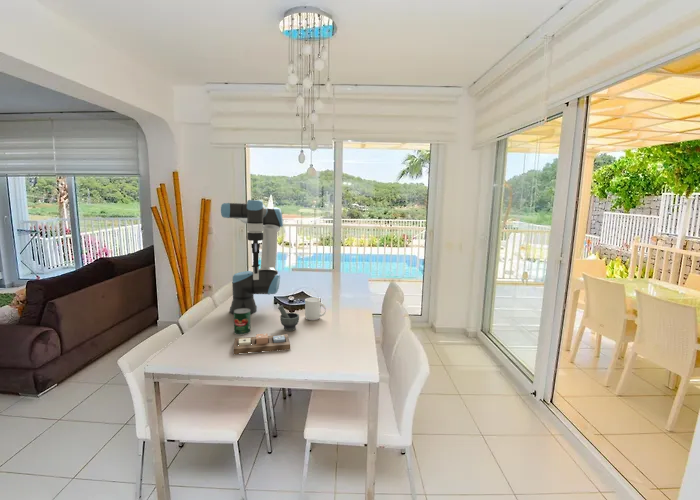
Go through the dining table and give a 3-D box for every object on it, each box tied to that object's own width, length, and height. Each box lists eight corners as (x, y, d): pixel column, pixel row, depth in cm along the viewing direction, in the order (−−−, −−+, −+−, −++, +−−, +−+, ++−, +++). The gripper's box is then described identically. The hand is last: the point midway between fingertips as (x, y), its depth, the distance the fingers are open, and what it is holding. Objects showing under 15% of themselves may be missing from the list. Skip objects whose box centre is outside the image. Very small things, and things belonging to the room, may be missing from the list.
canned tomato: (235, 335, 170) (235, 313, 168) (232, 330, 177) (232, 309, 175) (252, 333, 173) (251, 311, 172) (248, 328, 180) (248, 307, 179)
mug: (322, 322, 192) (323, 303, 190) (302, 319, 195) (302, 300, 194) (328, 317, 200) (328, 298, 198) (308, 314, 203) (308, 296, 202)
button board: (233, 354, 149) (233, 349, 149) (234, 343, 161) (234, 338, 161) (290, 349, 156) (290, 344, 156) (287, 339, 167) (287, 334, 167)
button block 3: (273, 346, 157) (273, 339, 157) (273, 342, 162) (273, 335, 162) (285, 345, 159) (285, 338, 158) (284, 341, 163) (284, 334, 163)
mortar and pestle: (301, 326, 185) (301, 304, 183) (295, 332, 176) (296, 309, 174) (281, 324, 187) (281, 302, 185) (274, 330, 178) (274, 307, 176)
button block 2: (256, 344, 155) (256, 338, 155) (256, 340, 160) (256, 333, 159) (268, 344, 156) (268, 337, 156) (267, 339, 161) (267, 333, 161)
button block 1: (238, 349, 153) (238, 342, 153) (239, 345, 158) (239, 338, 158) (250, 348, 155) (250, 341, 154) (250, 344, 159) (250, 337, 159)
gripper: (263, 233, 165) (264, 282, 168) (262, 230, 177) (263, 276, 181) (247, 233, 163) (247, 282, 166) (247, 230, 175) (248, 276, 179)
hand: (256, 279), depth 174 cm, fingers closed
